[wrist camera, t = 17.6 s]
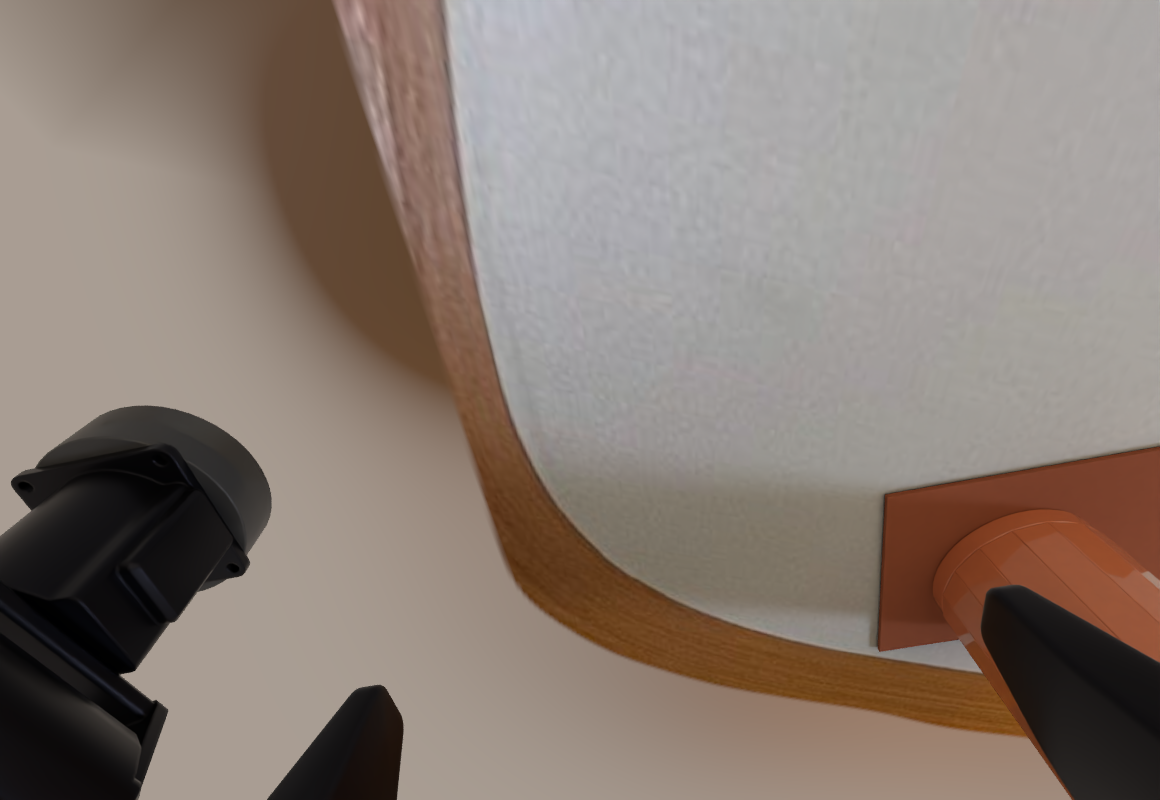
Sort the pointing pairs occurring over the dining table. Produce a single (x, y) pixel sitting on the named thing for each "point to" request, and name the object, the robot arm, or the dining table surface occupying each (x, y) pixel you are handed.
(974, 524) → the clay pad
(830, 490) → the dining table surface
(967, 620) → the terracotta tumbler
